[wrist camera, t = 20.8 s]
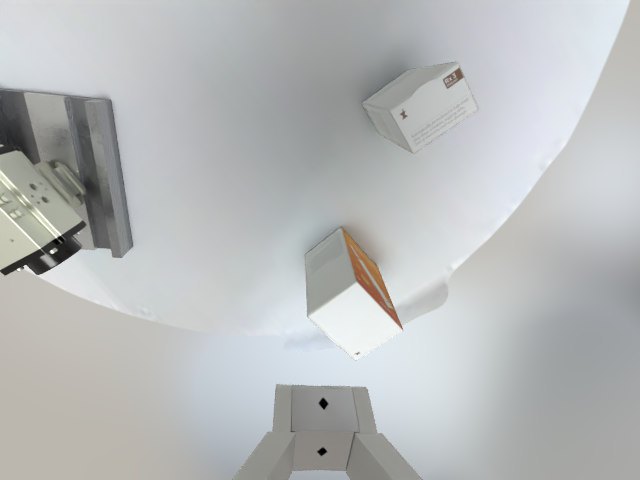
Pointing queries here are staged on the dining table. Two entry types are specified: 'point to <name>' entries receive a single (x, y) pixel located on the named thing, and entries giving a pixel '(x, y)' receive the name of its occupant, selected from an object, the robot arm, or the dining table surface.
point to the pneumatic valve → (37, 213)
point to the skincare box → (421, 105)
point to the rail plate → (74, 156)
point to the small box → (348, 296)
